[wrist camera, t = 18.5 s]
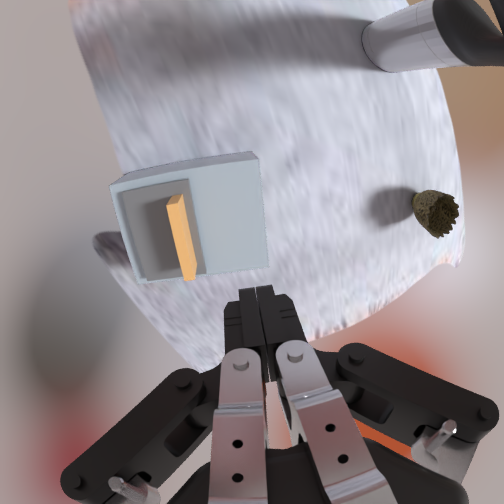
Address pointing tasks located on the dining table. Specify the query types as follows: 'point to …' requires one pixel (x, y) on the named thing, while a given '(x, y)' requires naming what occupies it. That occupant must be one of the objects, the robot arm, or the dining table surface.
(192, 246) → the lid
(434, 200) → the cup
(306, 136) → the dining table surface
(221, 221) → the housing
